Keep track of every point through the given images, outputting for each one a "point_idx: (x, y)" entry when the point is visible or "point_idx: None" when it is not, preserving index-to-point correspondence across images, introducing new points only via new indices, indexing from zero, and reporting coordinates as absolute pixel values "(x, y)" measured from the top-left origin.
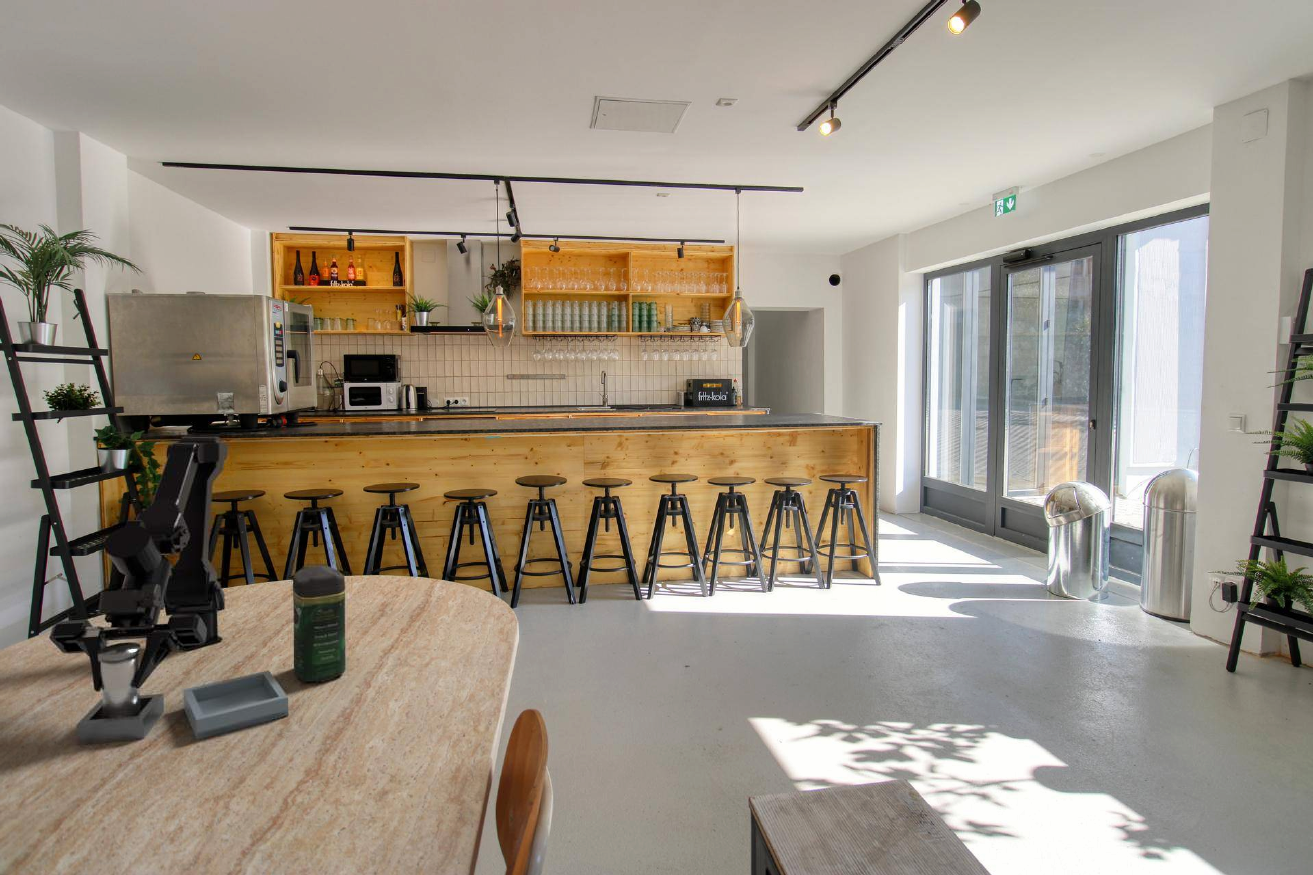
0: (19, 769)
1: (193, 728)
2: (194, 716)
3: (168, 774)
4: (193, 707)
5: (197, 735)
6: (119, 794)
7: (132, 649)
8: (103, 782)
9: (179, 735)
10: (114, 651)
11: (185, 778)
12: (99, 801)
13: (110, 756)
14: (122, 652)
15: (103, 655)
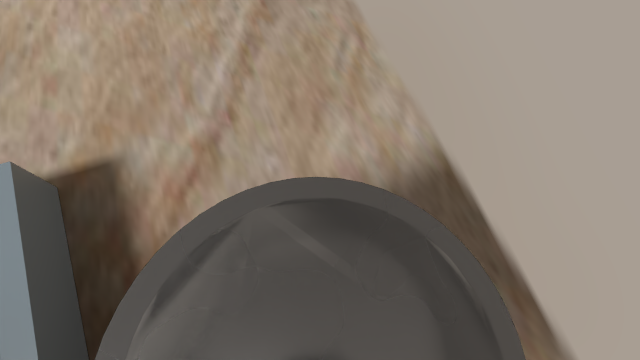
0: (434, 155)
1: (61, 242)
2: (18, 200)
3: (119, 48)
4: (16, 272)
5: (46, 182)
6: (202, 12)
7: (164, 331)
8: (245, 58)
9: (109, 231)
10: (349, 303)
11: (82, 24)
12: (232, 3)
13: (265, 160)
14: (255, 254)
15: (409, 212)
